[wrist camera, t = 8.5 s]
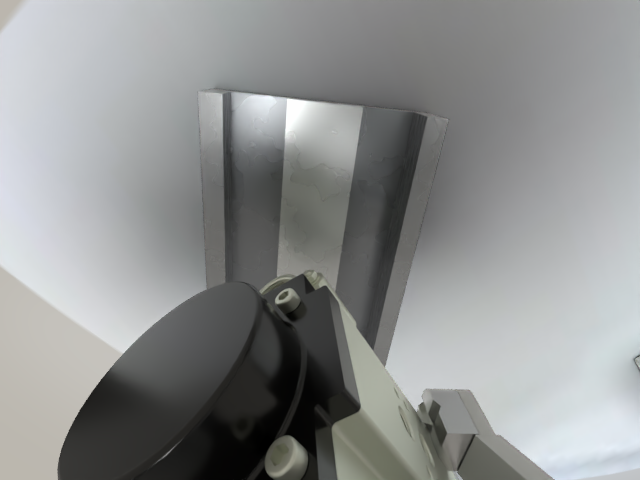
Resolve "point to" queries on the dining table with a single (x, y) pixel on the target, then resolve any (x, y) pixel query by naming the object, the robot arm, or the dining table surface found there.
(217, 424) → the pneumatic valve
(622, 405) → the dining table surface
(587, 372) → the dining table surface
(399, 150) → the rail plate
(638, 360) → the small box
